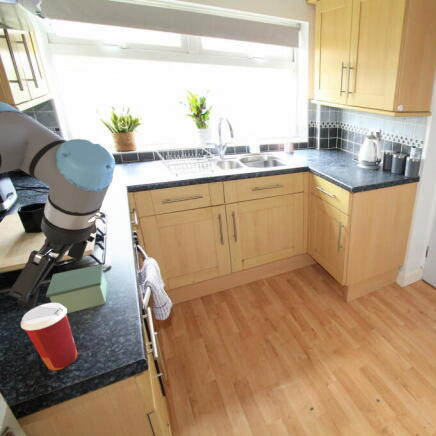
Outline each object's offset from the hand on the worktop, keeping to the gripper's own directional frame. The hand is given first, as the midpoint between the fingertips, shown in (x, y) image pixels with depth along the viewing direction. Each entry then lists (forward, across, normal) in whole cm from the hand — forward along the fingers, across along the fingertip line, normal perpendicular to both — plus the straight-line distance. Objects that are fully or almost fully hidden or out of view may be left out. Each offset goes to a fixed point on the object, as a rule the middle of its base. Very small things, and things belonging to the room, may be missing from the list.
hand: (52, 278), depth 68 cm
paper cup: (+17, -7, -10) cm, 21 cm away
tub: (+27, +14, -3) cm, 31 cm away
